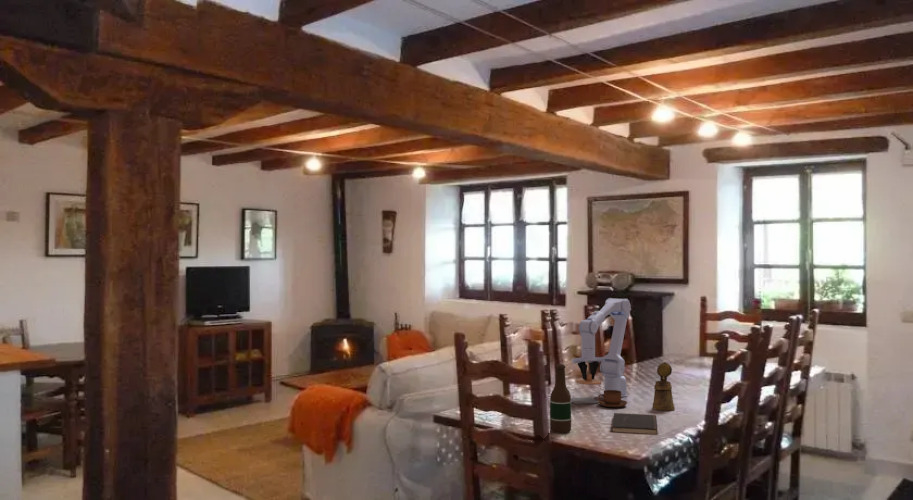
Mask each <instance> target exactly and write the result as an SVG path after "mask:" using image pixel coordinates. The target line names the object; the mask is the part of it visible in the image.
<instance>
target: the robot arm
mask: <svg viewBox="0 0 913 500" xmlns="http://www.w3.org/2000/svg"><path fill="white" fill-rule="evenodd" d="M631 308H632V306H631V303H630V300H629V299H628V298H612V297H609V298H607V299H606V300H605V303H604V305H603V306H602V308H600V310H599V311H598V310H595V311H593V313H592V314H591V315H589V316H588V317H587V319H582V320H581V321H579V325H578V331H579V334H580V335H579V336H580V337H581V357H576V358H572V359H571V364H577V367H578V368H579V370H580V373H581V377H582V378H583V379H584V380H586V379H587V374H588V373H587V370H588V364H589V371H590V373H589V374H592V380H594V379H595V377H596V373H597V370H598V368H599V371H600V373H601V374H602V376H603V377H604V378H603V379H604V381H603V385H604V389H603V392H601V393H600V394H604V391H605V390H617V391H621V398H622V397H623V398H624V397H628V394H627V390H628V389H627V379H626V377H625V376H624V374H625V370H626V369H625V367H626V366H625V365H626V363H625V362H626V361H625V359H624V358H623V357H622V356H621V354H622V349H623V342H624V337H625V332H626V326H627V322H628V319H629V317H630V313H631ZM608 315H609V316H610V317H611V318H613V319H614V323H613V329H612V334H611V338H610V339H611V340H610V344H609V349H608V353H607V354H605V355H604V356H596V334H597V332H598V330H599V328H600V326H601V325H602V324H603V323H604V322H605V319H606V317H607V316H608Z"/></svg>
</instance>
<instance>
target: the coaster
mask: <svg viewBox="0 0 913 500" xmlns="http://www.w3.org/2000/svg"><path fill="white" fill-rule="evenodd" d="M598 401H599V400H598V399H595V398H593V397H590V396H586V397H584V396H583V397H571V404H573V405H575V406H582V405H595V404H596V405H600V404H599V403H598Z"/></svg>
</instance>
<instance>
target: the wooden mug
mask: <svg viewBox="0 0 913 500" xmlns="http://www.w3.org/2000/svg"><path fill="white" fill-rule="evenodd" d="M672 370H673V369H672V366H671V365H670V364H669V363H668V362H666V361H665V362H662V363H660V364H658V366H657V367H656V373H657V375H658V376H659V377H660V379H659V380H655V384H654V396H653V402H652V409H653V410H656V411H661V412H667V411H668V412H669V411H675V403H674V399H673V391H672V383H671V381H667V380H668V377H670V375H672Z"/></svg>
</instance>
